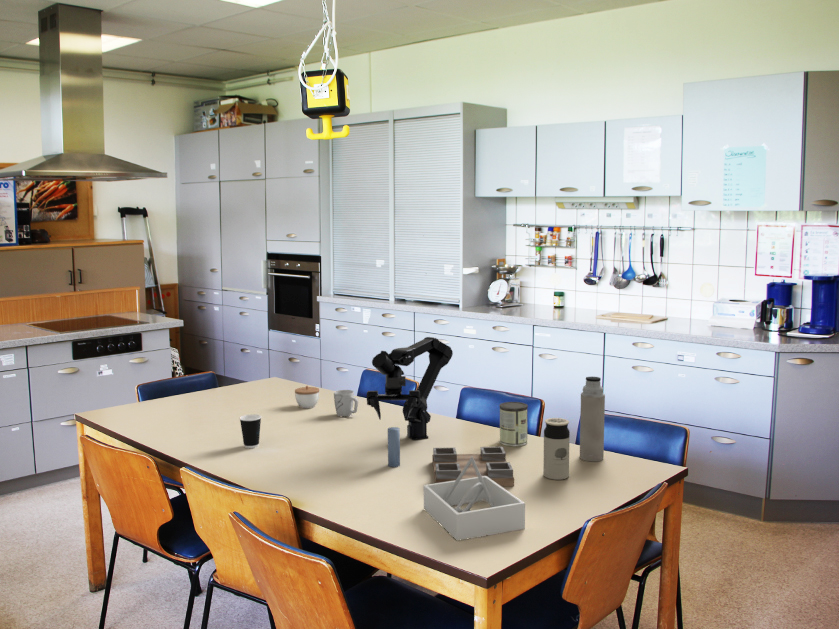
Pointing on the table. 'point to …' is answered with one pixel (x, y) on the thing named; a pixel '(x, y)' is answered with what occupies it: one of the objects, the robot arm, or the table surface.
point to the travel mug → (556, 449)
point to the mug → (345, 402)
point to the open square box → (474, 522)
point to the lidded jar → (307, 396)
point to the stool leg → (393, 447)
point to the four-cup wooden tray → (487, 462)
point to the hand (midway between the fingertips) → (393, 418)
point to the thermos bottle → (592, 420)
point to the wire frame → (480, 486)
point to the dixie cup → (250, 430)
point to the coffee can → (513, 423)
